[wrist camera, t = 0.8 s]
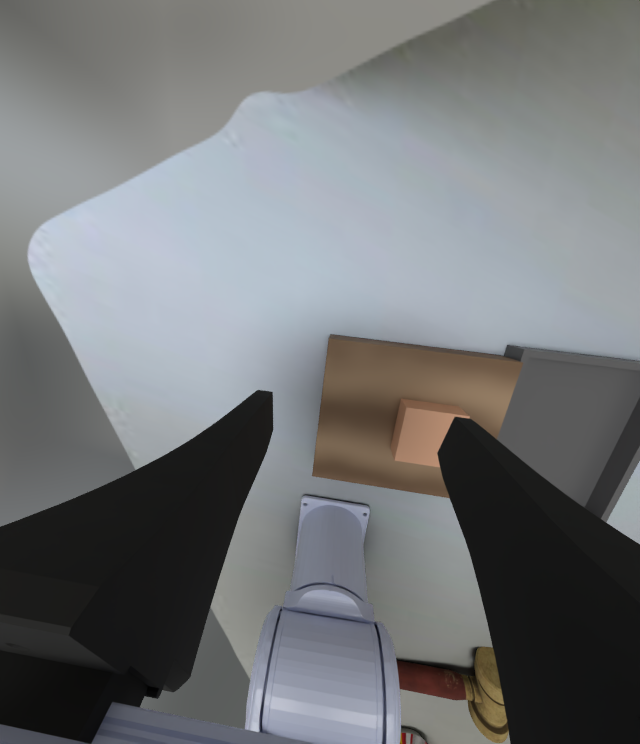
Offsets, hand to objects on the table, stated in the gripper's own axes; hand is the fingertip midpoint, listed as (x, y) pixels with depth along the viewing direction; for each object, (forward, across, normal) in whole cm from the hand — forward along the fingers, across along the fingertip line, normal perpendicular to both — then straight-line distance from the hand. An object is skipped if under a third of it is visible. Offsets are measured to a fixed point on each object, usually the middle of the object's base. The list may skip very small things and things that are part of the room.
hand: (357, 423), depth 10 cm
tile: (+10, -8, +8) cm, 15 cm away
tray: (+13, -21, +9) cm, 26 cm away
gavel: (+4, -17, +46) cm, 49 cm away
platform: (+13, -6, +9) cm, 17 cm away
